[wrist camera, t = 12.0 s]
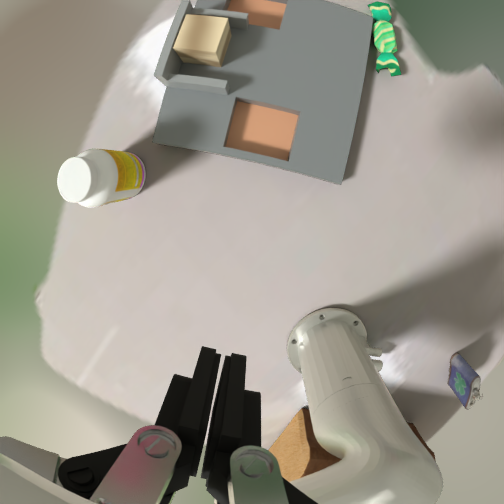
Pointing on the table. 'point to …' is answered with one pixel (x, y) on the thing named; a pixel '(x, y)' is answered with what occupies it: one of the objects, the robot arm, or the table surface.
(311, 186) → the table surface
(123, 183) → the supplement bottle
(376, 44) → the candy
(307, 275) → the table surface
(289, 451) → the bread
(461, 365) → the flask
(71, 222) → the table surface
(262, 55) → the plate
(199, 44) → the block
